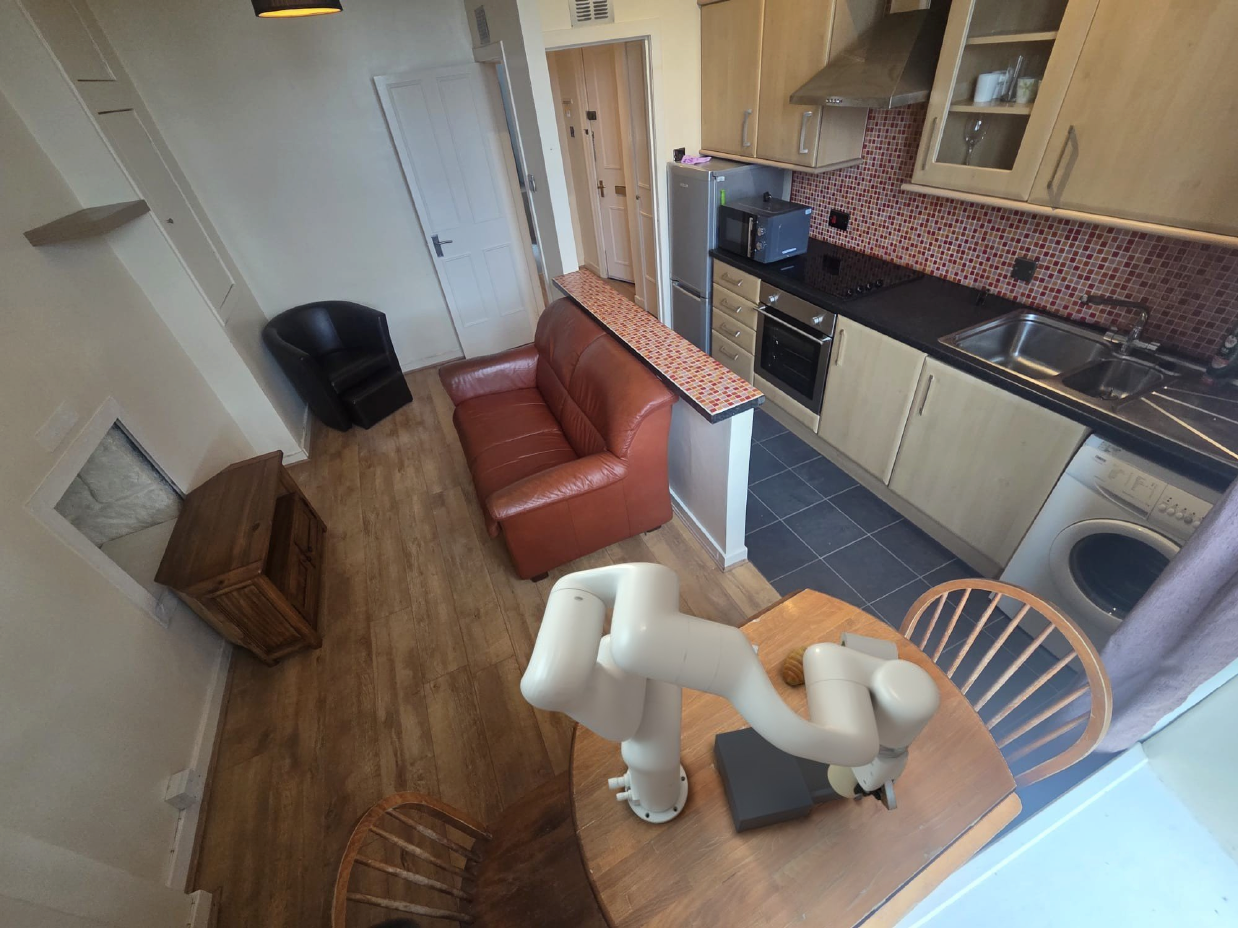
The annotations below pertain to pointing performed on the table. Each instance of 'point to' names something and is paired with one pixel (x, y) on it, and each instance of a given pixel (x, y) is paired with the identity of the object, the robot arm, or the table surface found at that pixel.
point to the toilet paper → (870, 645)
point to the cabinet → (760, 780)
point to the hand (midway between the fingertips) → (852, 767)
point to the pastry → (794, 667)
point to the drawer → (819, 781)
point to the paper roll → (842, 780)
